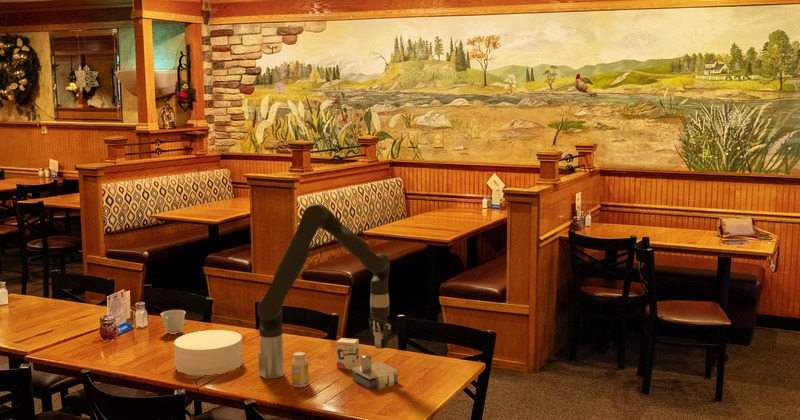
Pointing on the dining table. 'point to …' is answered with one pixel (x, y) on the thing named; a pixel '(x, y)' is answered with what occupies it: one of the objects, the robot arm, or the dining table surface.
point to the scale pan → (375, 370)
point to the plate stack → (208, 352)
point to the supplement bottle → (299, 370)
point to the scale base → (376, 380)
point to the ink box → (347, 353)
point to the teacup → (173, 320)
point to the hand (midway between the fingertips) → (380, 345)
